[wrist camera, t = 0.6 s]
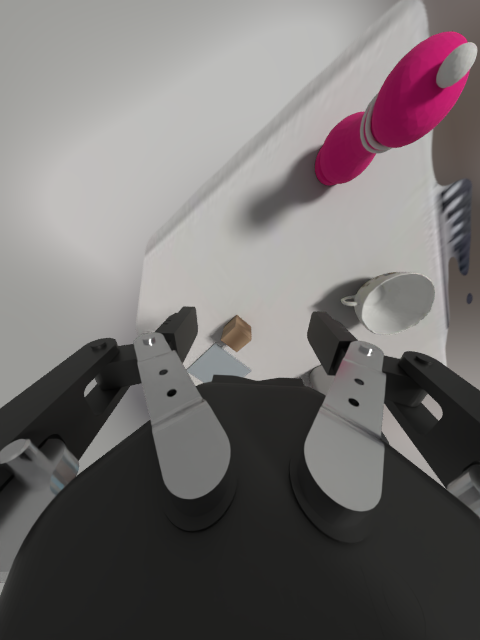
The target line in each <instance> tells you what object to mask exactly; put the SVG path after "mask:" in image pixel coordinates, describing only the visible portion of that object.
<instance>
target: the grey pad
mask: <svg viewBox="0 0 480 640" xmlns="http://www.w3.org/2000/svg"><path fill="white" fill-rule="evenodd" d="M186 371H187V372H188V373H190V374H192V375H193V376H195V377H196V378H198V379H199V380H201V381H202V382H204V383H206V382H210V381H212V378H213V374H214V375H234V376H239V377H244V376H246V375H247V374H248V373H250V372H251V369H250V368H248V367H247V366H245V365H244V364H243V363H241V362H240V361H239V360H237V359H236V358H235V357H233V356H232V355H231V354H229V353H228V352H227V351H225V350H224V349H223V348H221V347H220V346H219V345H217V344H216V343H215V344H214V345H213V346H211V347H210V348H209V349H208V350H207V351H206V352H205V353H204V354H203V355H202V356H201V357H200V358H199V359H198V360H197V361H195V362H194V363H193V364H192V365H191V366H190V367H189V368H188V369H187V370H186Z"/></svg>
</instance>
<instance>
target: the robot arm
mask: <svg viewBox="0 0 480 640" xmlns="http://www.w3.org/2000/svg"><path fill="white" fill-rule="evenodd" d="M197 333H198V325H197V315H196V309H195V307H183V308H182V309H181V310H180V311H179V312H178V313H175V314H173V315H171V316H169V317H168V318H167V319H166V321H165V322H164V323H163V324H162V325H161V326H160V327H159V328H158V329H157V330H156V331H155V332H153V333H147V334H144V335H141V336H139V337H138V338H136V339H135V341H134V344H131V345H123V346H118V345H117V342H116V340H115V339H112V338H104V339H98V340H95V341H92V342H90V343H88V344H86V345H85V346H83V347H82V348H81V349H79V350H78V351H77V352H75V353H74V354H73V355H71V356H70V357H69V358H67V359H66V360H65V361H63V362H62V363H61V364H59V365H58V366H57V367H55V368H54V369H53V370H52V371H50V372H49V373H47V374H46V375H45V376H43V377H42V378H41V379H40V380H38V381H37V382H35V383H34V384H33V385H31V386H30V387H29V388H27V389H26V390H25V391H23V392H22V393H21V394H19V395H18V396H17V397H15V398H14V399H13V400H11V401H10V402H9V403H7V404H6V405H5V406H3V407H2V408H1V409H0V583H5V585H4V587H3V590H2V593H1V595H0V640H480V391H479V390H478V389H477V388H475V387H474V386H472V385H471V384H470V383H468V382H467V381H465V380H464V379H463V378H461V377H460V376H459V375H457V374H456V373H454V372H453V371H452V370H450V369H449V368H448V367H446V366H445V365H443V364H442V363H441V362H439V361H438V360H436V359H434V358H432V357H430V356H427V355H425V354H422V353H418V352H412V351H407V352H404V354H403V355H402V357H401V359H397V358H393V357H388V356H384V353H383V351H382V350H381V349H380V348H378V347H377V346H375V345H373V344H370V343H367V342H364V341H358V340H357V339H356V338H355V337H354V336H353V335H352V334H351V333H350V332H348V330H347V329H346V328H345V327H344V326H343V325H342V324H341V323H339V322H338V321H336V320H334V319H332V318H331V317H330V316H329V315H328V314H327V313H326V312H313V313H312V315H311V319H310V324H309V328H308V332H307V338H308V341H309V343H310V345H311V346H312V348H313V350H314V352H315V354H316V356H317V357H318V359H319V361H320V363H321V365H320V366H318V367H316V368H315V369H313V370H312V372H311V373H310V376H309V379H310V382H311V384H312V387H313V389H312V388H309V387H306V386H304V385H303V382H302V379H297V378H274V379H268V380H262V381H254V380H251V379H247V378H243V377H239V376H234V375H214V374H213V378H212V381H210V382H206V383H203V384H200V385H198V386H195V385H194V383H193V381H192V380H191V378H190V376H189V374H188V372H187V371H186V369H185V367H184V365H183V362H184V360H185V358H186V356H187V354H188V352H189V350H190V348H191V346H192V344H193V342H194V340H195V338H196V336H197ZM94 378H95V380H96V382H97V385H96V386H95V387H94V388H93V389H92V390H91V391H90V393H89V394H88V395H87V396H86V397H84V391H85V388H86V386H87V385H88V384H89V383H90V382H91V381H92V380H93V379H94ZM140 383H142V385H143V390H144V394H145V399H146V403H147V407H148V411H149V416H150V420H149V421H148V422H147V423H145V424H144V425H143V426H141V427H140V428H139V429H138V430H136V431H135V432H134V433H132V434H131V435H130V436H128V437H127V438H126V439H124V440H123V441H122V442H120V443H119V444H118V445H116V446H115V447H114V448H112V449H111V450H110V451H109V452H107V453H106V454H105V455H103V456H102V457H101V458H99V459H98V460H97V461H95V462H94V463H93V464H92V465H90V466H89V467H88V468H86V469H85V470H84V471H82V472H81V473H80V474H79V475H77V473H78V470H79V462H78V461H79V459H80V458H81V456H82V455H83V454H84V452H85V451H86V449H87V448H88V446H89V445H90V444H91V442H92V441H93V439H94V438H95V436H96V435H97V433H98V432H99V430H100V429H101V428H102V426H103V425H104V423H105V422H106V420H107V419H108V417H109V416H110V415H111V413H112V412H113V410H114V409H115V407H116V406H117V404H118V403H119V402H120V400H121V399H122V397H123V396H124V394H125V393H126V391H127V390H128V388H129V387H130V385H135V384H140ZM427 394H429V395H430V396H431V397H432V398H433V399H434V400H435V401H436V402H437V403H438V404H439V405H440V406H441V408H442V411H443V416H442V418H441V419H440V420H439V421H438V420H437V419H436V418H435V417H434V416H433V415H432V414H431V413H430V411H429V410H428V409H427V408H426V407H425V406H424V405H423V404H422V403H421V402H422V400H423V399H424V398H425V396H426V395H427ZM384 404H385V405H386V406H387V408H388V409H389V410H390V412H391V413H392V414H393V416H394V417H395V419H396V420H397V421H398V423H399V424H400V426H401V427H402V428H403V430H404V431H405V432H406V434H407V435H408V437H409V438H410V439H411V441H412V442H413V443H414V445H415V446H416V448H417V449H418V450H419V452H420V453H421V455H422V456H423V457H424V459H425V460H426V461H427V463H428V464H429V466H430V467H431V468H432V470H433V471H434V472H435V474H436V475H437V476H438V478H439V479H440V481H441V482H442V483H443V485H444V486H445V488H446V489H447V490H446V489H445V488H444V487H443V486H441V485H440V484H439V483H437V482H436V481H435V480H434V479H432V478H431V477H430V476H428V475H427V474H426V473H425V472H423V471H422V470H421V469H419V468H418V467H417V466H416V465H414V464H413V463H412V462H411V461H409V460H408V459H407V458H405V457H404V456H403V455H402V454H400V453H399V452H398V451H396V450H395V449H394V448H392V447H391V446H390V445H389V442H388V440H387V439H386V437H385V435H384V434H383V433H382V431H381V430H382V419H383V407H384ZM76 475H77V476H76Z"/></svg>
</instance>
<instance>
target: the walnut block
mask: <svg viewBox="0 0 480 640" xmlns="http://www.w3.org/2000/svg"><path fill="white" fill-rule="evenodd" d="M221 341H223V342H224V343H225V344H227V345H228V346H229V347H230V348H232V349H233V350H234V351H236V352H238V351H239V350H240V349H241V348H242V347H244V346H245V345H246V344H247V343H248V342H250V341H251V326H249V325H248V324H247V323H246V322H245V321H243V320H242V319H241V318H240V317H239V316H238V315H236V316H235V317H234V318H233V319H232V320H231V321H230V322H229V323H228V324H227V325H226V326H225V327H224V329H223V333H222V337H221Z"/></svg>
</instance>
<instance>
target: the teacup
mask: <svg viewBox="0 0 480 640" xmlns="http://www.w3.org/2000/svg"><path fill="white" fill-rule="evenodd" d="M434 297H435V290H434V286H433V284H432V281H431V280H430V279H429V278H427V277H426V276H424V275H422V274H418V273H410V272H393V273H387V274H383V275H380V276H377V277H375V278H373V279H371V280H369V281H368V282H366V283H365V284H364V285H363V286H362V287H361V288H360V289H359V291H358V292H357V294H356V295H354V296H347V297H344V298H343V299H341V302H342V303H343V304H344V305H346V306H354V308H355V312H356V315H357V317H358V319H359V320H360V322H361V323H362V324H363V325H364V326H365V327H366V328H367V329H368V330H370V331H371V332H372V333H375V334H380V335H392V334H396V333H399V332H403V331H405V330H406V329H408V328H410V327H412V326H415V325H417V324H418V323H419V321H420V320H422V319H424V317H425V316H427V314H428V312H430V310H431V307H432V304H433V301H434ZM348 299H354V302H346V301H345V300H348Z"/></svg>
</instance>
